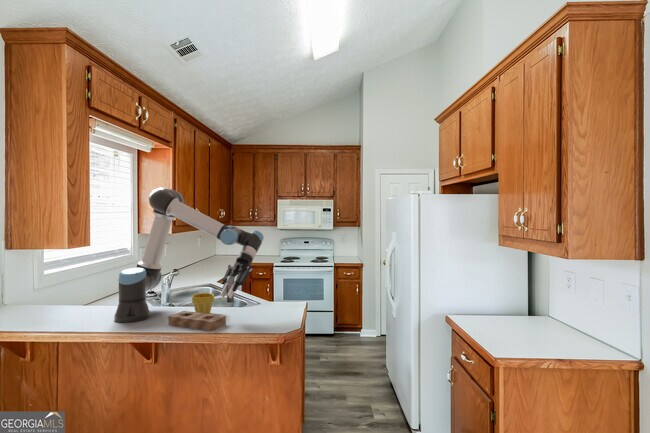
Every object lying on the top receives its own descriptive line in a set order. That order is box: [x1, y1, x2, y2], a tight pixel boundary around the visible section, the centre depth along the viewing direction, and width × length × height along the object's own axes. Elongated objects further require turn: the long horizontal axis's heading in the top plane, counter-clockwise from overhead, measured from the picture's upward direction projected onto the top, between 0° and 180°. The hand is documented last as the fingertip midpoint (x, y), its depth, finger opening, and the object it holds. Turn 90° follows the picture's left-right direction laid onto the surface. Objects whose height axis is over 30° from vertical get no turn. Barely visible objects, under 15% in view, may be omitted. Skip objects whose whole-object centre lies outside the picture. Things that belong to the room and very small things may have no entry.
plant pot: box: [191, 292, 215, 314], centre depth 185 cm, size 10×10×10 cm
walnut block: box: [167, 310, 227, 332], centre depth 168 cm, size 24×10×4 cm, turn 69°
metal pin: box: [226, 276, 235, 304], centre depth 175 cm, size 3×3×12 cm
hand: (225, 296), depth 171 cm, fingers closed on metal pin, 3 cm apart
